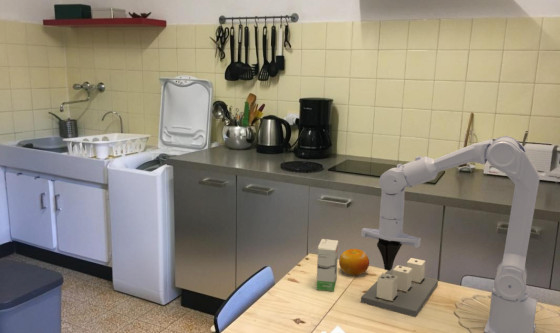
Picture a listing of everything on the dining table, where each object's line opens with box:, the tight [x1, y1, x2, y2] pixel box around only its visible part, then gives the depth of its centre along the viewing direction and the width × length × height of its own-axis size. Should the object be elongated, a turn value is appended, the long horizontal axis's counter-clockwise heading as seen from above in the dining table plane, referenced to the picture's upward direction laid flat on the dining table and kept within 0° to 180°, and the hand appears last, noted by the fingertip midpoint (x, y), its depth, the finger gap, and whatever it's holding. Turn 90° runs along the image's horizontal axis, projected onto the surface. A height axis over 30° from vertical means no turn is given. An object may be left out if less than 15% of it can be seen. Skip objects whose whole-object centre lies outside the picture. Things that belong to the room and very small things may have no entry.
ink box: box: [316, 238, 339, 292], centre depth 130 cm, size 9×5×12 cm, turn 168°
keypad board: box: [360, 268, 439, 318], centre depth 126 cm, size 14×22×2 cm, turn 149°
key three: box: [376, 272, 398, 302], centre depth 120 cm, size 4×4×5 cm
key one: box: [406, 257, 426, 284], centre depth 131 cm, size 4×4×5 cm
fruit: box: [338, 248, 370, 276], centre depth 139 cm, size 8×8×8 cm
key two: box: [392, 264, 412, 292], centre depth 125 cm, size 4×4×5 cm
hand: (388, 268), depth 119 cm, fingers closed
